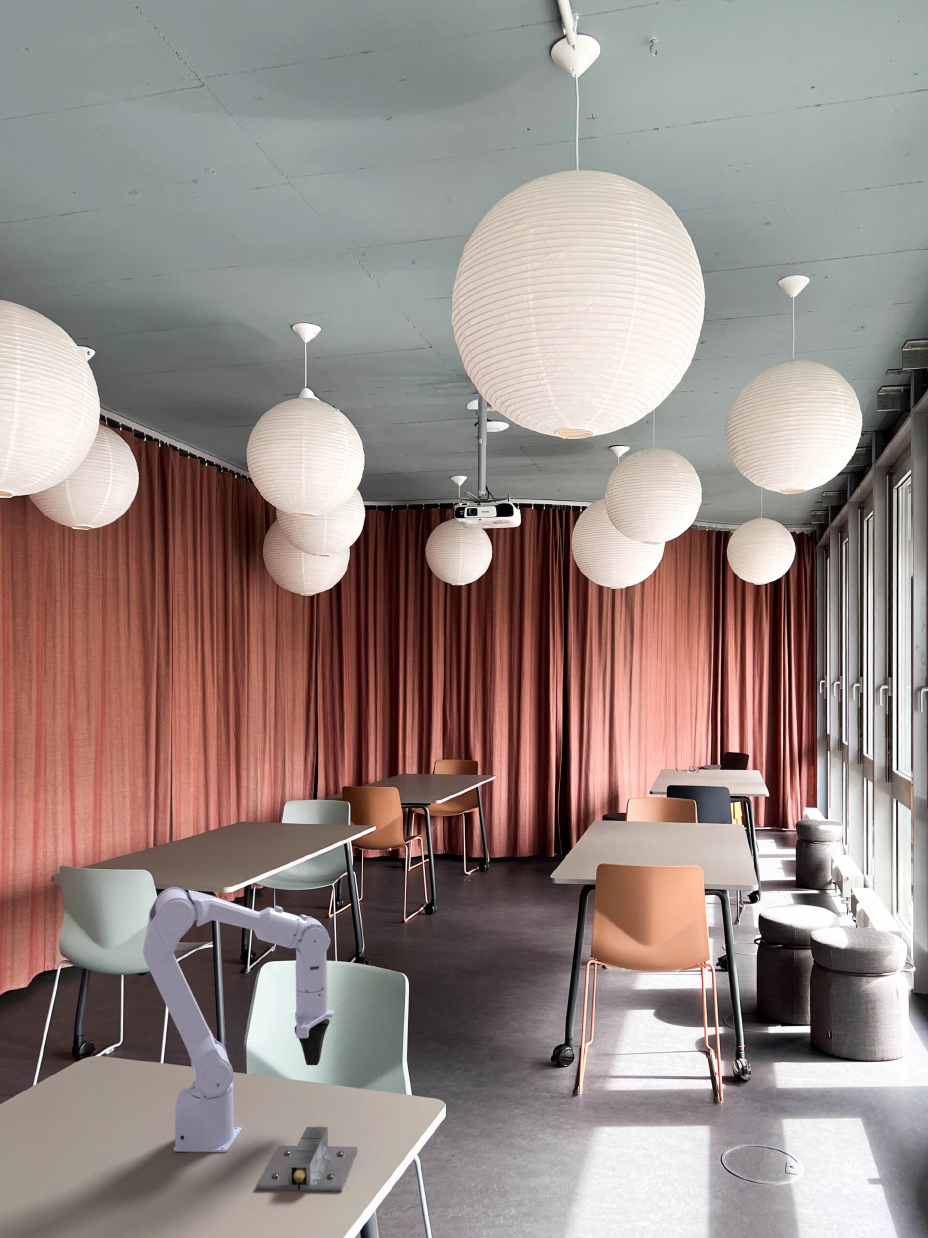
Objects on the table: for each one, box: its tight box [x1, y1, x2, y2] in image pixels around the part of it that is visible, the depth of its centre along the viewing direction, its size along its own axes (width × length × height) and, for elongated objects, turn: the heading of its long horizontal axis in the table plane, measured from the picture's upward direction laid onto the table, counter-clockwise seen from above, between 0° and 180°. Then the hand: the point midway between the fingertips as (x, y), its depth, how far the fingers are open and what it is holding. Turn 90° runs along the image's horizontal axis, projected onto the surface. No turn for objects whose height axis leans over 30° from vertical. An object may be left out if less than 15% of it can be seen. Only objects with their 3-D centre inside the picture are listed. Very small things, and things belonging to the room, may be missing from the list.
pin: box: [294, 1125, 324, 1183], centre depth 151 cm, size 3×14×3 cm, turn 175°
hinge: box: [256, 1126, 358, 1192], centre depth 150 cm, size 14×12×4 cm
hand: (312, 1064), depth 168 cm, fingers closed
